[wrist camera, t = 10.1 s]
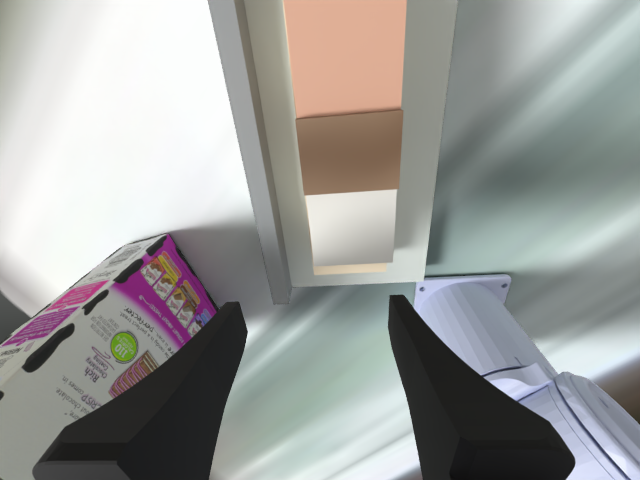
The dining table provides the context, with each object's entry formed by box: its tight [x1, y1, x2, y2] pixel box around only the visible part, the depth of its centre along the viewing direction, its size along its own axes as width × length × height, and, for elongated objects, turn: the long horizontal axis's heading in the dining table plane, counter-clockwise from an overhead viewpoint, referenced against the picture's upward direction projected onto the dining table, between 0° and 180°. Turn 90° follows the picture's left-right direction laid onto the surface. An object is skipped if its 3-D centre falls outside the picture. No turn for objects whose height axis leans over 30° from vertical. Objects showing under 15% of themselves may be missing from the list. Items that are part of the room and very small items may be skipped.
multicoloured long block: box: [282, 0, 404, 275], centre depth 14 cm, size 18×5×7 cm, turn 5°
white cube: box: [306, 189, 397, 267], centre depth 15 cm, size 4×4×4 cm
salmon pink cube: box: [284, 0, 407, 118], centre depth 11 cm, size 4×4×4 cm
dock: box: [208, 0, 458, 304], centre depth 17 cm, size 24×12×4 cm, turn 5°
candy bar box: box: [0, 233, 218, 480], centre depth 19 cm, size 11×5×16 cm, turn 18°
